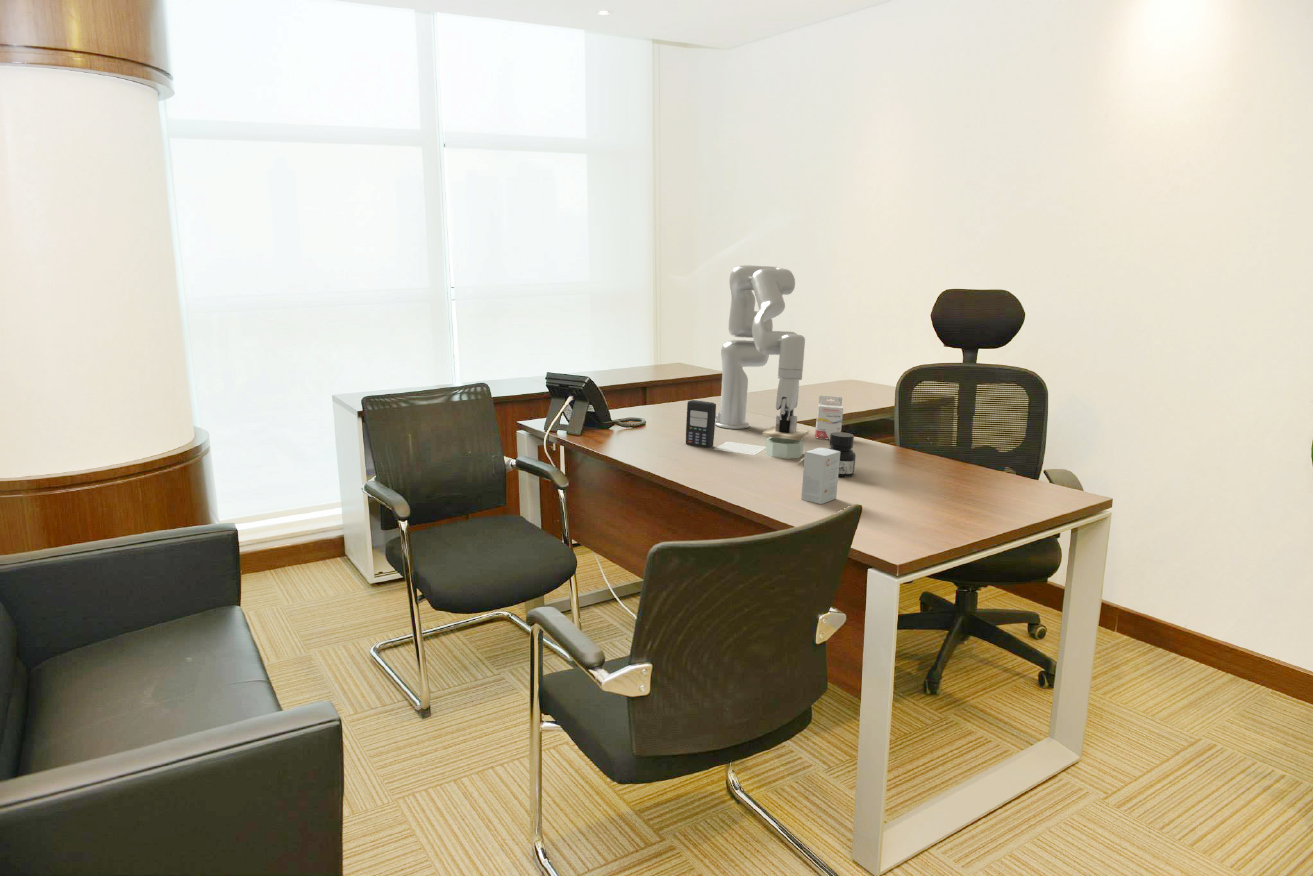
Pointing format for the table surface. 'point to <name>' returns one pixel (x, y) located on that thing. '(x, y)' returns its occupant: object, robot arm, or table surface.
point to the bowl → (784, 447)
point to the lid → (793, 433)
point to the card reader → (700, 423)
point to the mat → (740, 448)
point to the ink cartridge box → (828, 416)
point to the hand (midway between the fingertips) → (785, 430)
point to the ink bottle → (844, 452)
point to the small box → (820, 475)
